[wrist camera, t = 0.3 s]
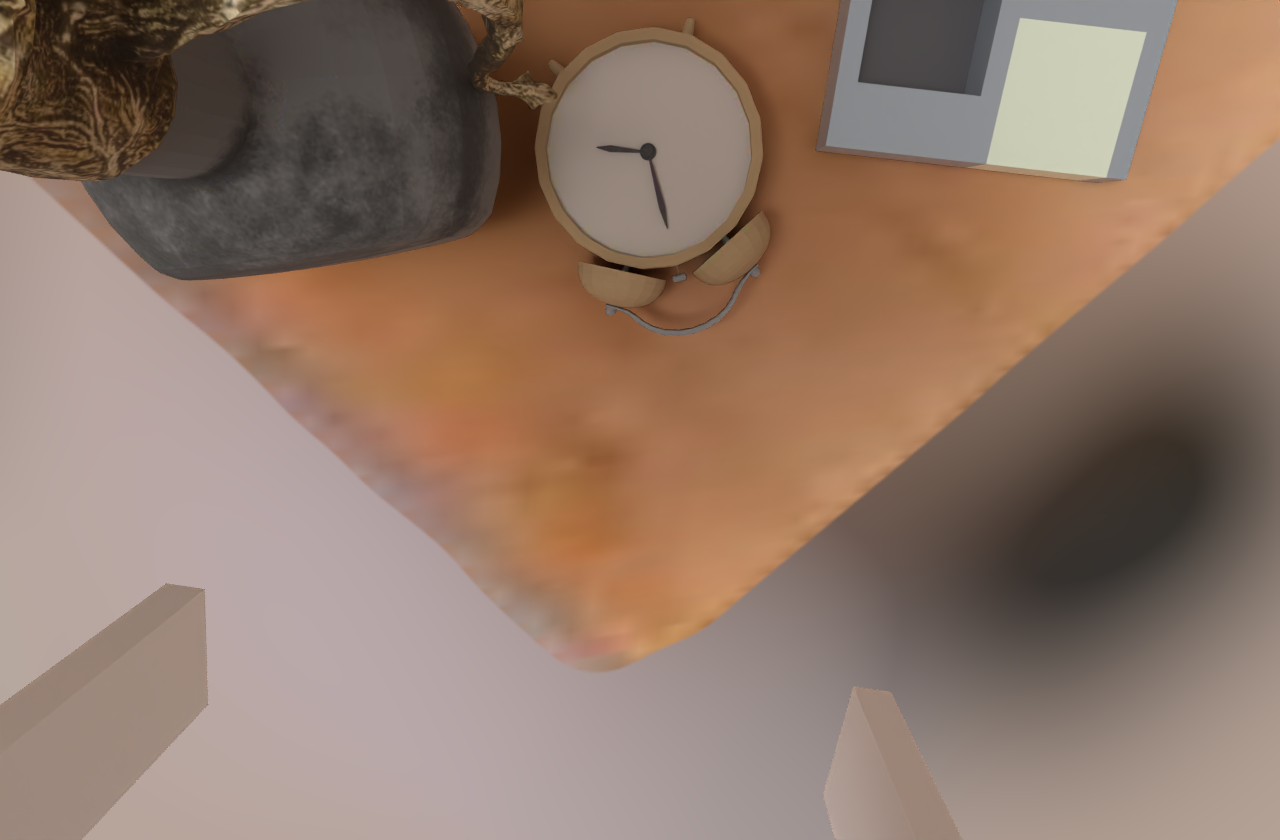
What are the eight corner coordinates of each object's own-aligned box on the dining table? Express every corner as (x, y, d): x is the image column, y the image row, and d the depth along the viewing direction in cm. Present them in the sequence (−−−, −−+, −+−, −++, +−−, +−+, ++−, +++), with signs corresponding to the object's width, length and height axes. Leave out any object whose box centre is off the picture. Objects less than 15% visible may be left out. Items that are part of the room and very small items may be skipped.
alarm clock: (731, -11, 32) (806, 303, 34) (726, 36, 37) (792, 308, 38) (504, 60, 34) (584, 361, 35) (528, 96, 38) (598, 359, 40)
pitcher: (220, 69, 36) (-1446, -513, 8) (574, -2, 35) (173, -1042, 6) (282, 277, 39) (-760, 423, 11) (612, 219, 38) (456, 206, 9)
